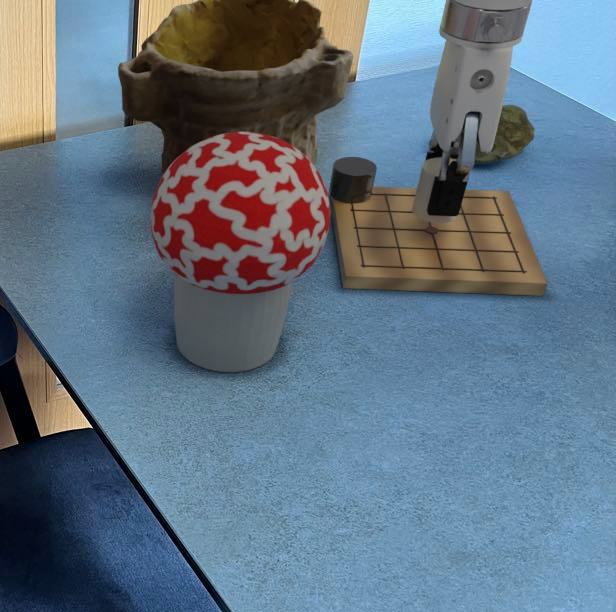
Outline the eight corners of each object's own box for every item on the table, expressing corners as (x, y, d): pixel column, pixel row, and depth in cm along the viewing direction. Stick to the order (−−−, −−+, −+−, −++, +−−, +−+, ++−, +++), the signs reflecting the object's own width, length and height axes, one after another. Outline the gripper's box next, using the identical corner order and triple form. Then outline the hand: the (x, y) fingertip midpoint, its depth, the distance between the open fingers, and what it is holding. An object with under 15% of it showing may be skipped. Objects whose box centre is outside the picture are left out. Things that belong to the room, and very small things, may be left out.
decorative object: (117, 324, 102) (120, 123, 88) (251, 286, 107) (275, 90, 93) (196, 410, 92) (214, 200, 78) (341, 365, 97) (382, 158, 82)
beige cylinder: (454, 202, 111) (466, 157, 108) (461, 224, 108) (474, 178, 104) (409, 201, 112) (419, 156, 108) (414, 222, 108) (425, 177, 105)
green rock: (425, 138, 127) (479, 66, 124) (432, 161, 133) (484, 92, 131) (495, 179, 123) (552, 105, 121) (499, 200, 130) (553, 131, 127)
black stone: (369, 184, 119) (374, 157, 117) (373, 203, 116) (379, 176, 113) (327, 182, 119) (331, 156, 117) (330, 202, 116) (334, 175, 114)
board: (505, 202, 119) (509, 189, 117) (543, 296, 104) (548, 282, 103) (328, 197, 120) (331, 184, 119) (343, 288, 106) (345, 274, 105)
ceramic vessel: (216, 217, 100) (143, -48, 96) (127, 267, 123) (66, 54, 119) (407, 165, 106) (346, -86, 103) (289, 222, 129) (235, 19, 126)
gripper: (545, 53, 90) (489, 243, 103) (507, -11, 102) (461, 167, 115) (457, 51, 90) (412, 240, 103) (430, -12, 102) (392, 165, 115)
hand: (438, 200), depth 109 cm, fingers closed on beige cylinder, 4 cm apart
